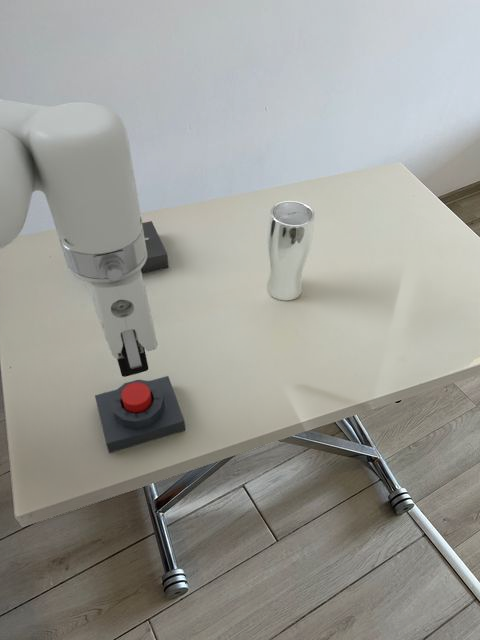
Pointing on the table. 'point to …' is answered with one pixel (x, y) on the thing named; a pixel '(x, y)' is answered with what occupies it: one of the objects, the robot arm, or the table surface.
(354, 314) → the table surface
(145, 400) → the stop button
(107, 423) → the stop block
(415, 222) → the table surface
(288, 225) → the beer glass
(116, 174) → the robot arm
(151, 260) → the panel
